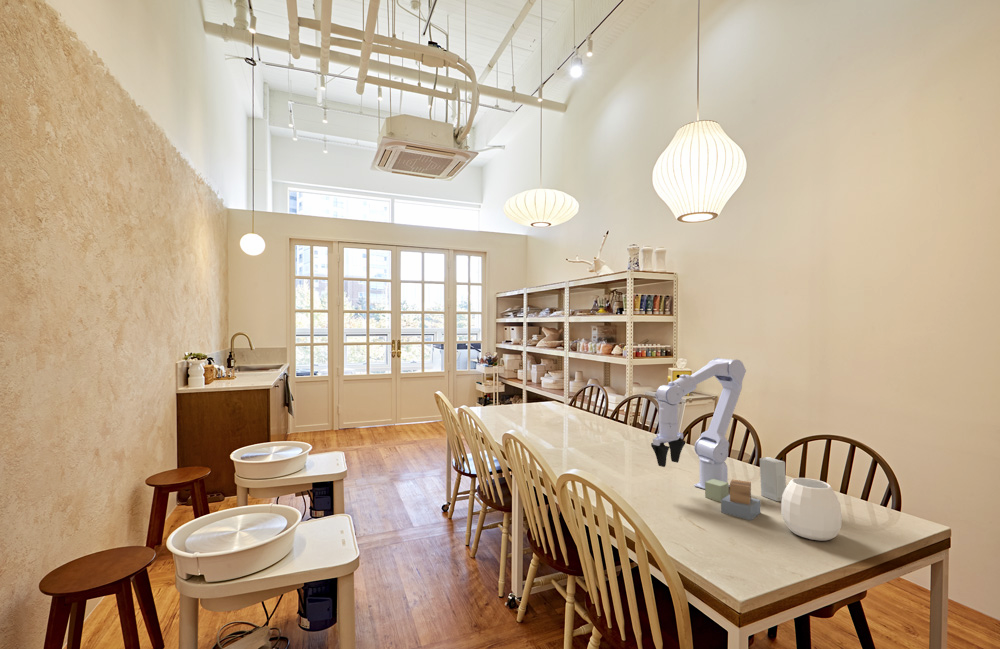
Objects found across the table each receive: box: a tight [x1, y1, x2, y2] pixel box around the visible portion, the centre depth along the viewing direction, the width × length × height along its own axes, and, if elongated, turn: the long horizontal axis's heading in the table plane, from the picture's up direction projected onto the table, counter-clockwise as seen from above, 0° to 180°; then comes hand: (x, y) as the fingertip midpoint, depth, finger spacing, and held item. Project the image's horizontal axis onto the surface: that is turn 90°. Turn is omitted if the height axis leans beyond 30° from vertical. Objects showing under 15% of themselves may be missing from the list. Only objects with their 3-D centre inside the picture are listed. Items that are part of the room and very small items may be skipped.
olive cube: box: [704, 479, 729, 503], centre depth 147 cm, size 5×5×5 cm
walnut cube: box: [729, 478, 752, 505], centre depth 136 cm, size 5×5×5 cm
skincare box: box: [759, 456, 787, 502], centre depth 147 cm, size 6×4×12 cm
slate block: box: [720, 493, 761, 521], centre depth 136 cm, size 8×8×4 cm
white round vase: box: [780, 477, 843, 542], centre depth 122 cm, size 13×13×14 cm
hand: (668, 464), depth 152 cm, fingers open, 7 cm apart
